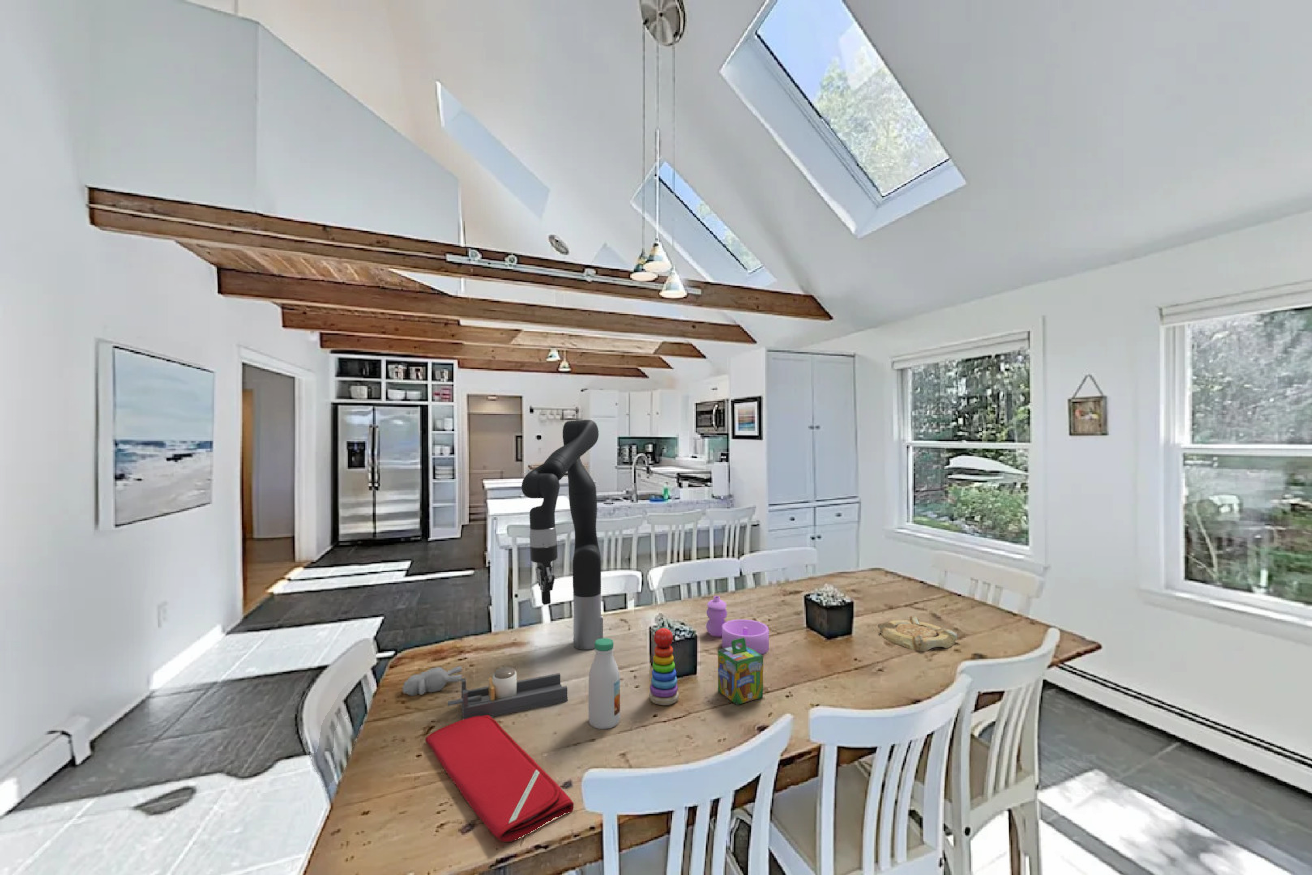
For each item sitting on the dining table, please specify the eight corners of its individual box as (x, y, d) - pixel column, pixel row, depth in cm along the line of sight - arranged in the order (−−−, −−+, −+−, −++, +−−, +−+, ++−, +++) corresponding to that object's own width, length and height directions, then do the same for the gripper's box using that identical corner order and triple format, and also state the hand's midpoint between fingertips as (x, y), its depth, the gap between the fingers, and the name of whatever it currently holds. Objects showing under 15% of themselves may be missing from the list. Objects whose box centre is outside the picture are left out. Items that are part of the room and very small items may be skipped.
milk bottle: (607, 733, 125) (607, 650, 125) (582, 724, 129) (581, 643, 129) (626, 718, 131) (625, 638, 131) (601, 709, 136) (601, 632, 135)
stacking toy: (685, 698, 141) (685, 629, 141) (664, 710, 135) (664, 637, 135) (663, 688, 147) (663, 621, 146) (643, 699, 141) (642, 629, 141)
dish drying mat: (490, 720, 132) (490, 706, 132) (576, 812, 100) (576, 792, 100) (424, 744, 122) (424, 728, 122) (496, 854, 90) (496, 833, 90)
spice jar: (515, 693, 142) (515, 665, 142) (517, 703, 137) (517, 674, 137) (492, 697, 140) (492, 668, 140) (493, 708, 135) (493, 678, 135)
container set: (778, 648, 174) (778, 608, 173) (746, 660, 164) (746, 618, 164) (725, 626, 194) (724, 590, 193) (693, 635, 184) (693, 598, 184)
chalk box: (736, 706, 137) (736, 649, 137) (716, 691, 145) (716, 637, 145) (764, 697, 141) (764, 643, 141) (743, 683, 150) (743, 631, 149)
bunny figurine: (404, 671, 149) (460, 657, 154) (406, 689, 149) (462, 674, 154) (400, 687, 140) (460, 671, 145) (403, 705, 140) (463, 689, 145)
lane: (559, 685, 149) (559, 660, 149) (567, 701, 140) (567, 674, 140) (461, 704, 139) (461, 677, 138) (463, 722, 130) (463, 694, 130)
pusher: (491, 695, 140) (491, 677, 140) (494, 707, 134) (494, 688, 134) (447, 704, 136) (447, 685, 136) (448, 717, 130) (448, 696, 130)
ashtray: (971, 653, 170) (971, 637, 170) (897, 652, 170) (897, 637, 170) (934, 625, 194) (934, 612, 194) (868, 625, 194) (869, 612, 194)
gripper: (525, 541, 155) (528, 599, 155) (535, 549, 143) (538, 613, 143) (550, 537, 158) (553, 595, 158) (562, 545, 146) (565, 607, 146)
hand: (546, 603), depth 151 cm, fingers closed
